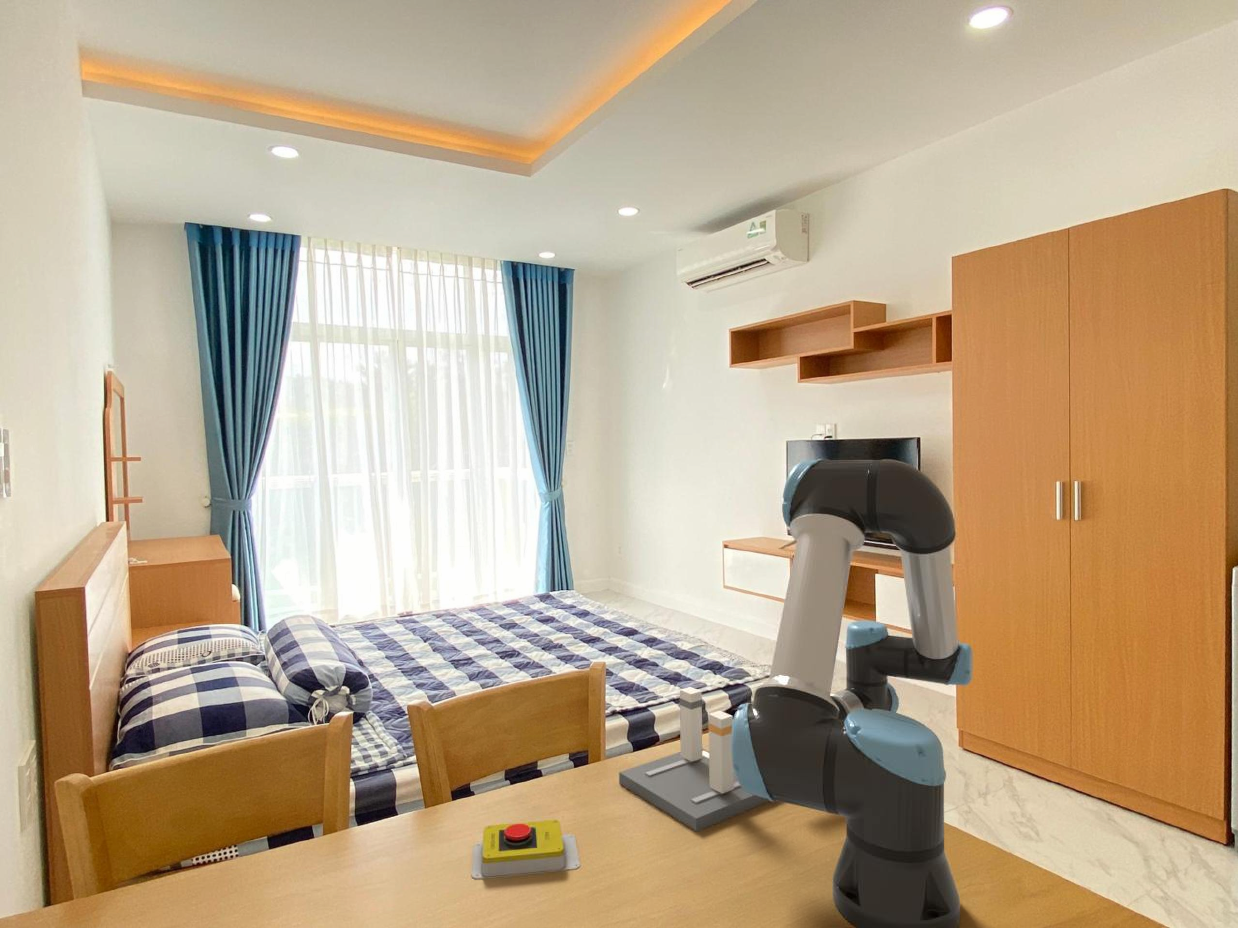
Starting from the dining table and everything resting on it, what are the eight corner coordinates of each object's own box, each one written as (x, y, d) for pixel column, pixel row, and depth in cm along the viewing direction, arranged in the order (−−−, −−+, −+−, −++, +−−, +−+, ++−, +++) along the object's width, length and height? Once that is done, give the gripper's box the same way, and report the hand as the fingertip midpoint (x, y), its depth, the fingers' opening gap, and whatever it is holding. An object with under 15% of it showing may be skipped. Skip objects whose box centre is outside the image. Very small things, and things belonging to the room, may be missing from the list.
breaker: (691, 752, 137) (690, 686, 136) (702, 757, 134) (701, 691, 134) (680, 755, 135) (679, 689, 135) (691, 761, 133) (690, 694, 132)
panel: (697, 756, 141) (697, 744, 141) (778, 796, 125) (778, 783, 125) (619, 783, 130) (619, 770, 130) (696, 831, 114) (696, 816, 114)
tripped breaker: (720, 782, 125) (719, 710, 124) (734, 789, 122) (733, 715, 122) (709, 786, 123) (708, 713, 123) (722, 793, 121) (721, 719, 120)
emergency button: (473, 817, 112) (574, 808, 114) (473, 846, 112) (574, 837, 114) (470, 851, 102) (580, 841, 105) (470, 883, 103) (580, 872, 105)
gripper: (892, 758, 129) (809, 793, 117) (782, 716, 149) (702, 742, 137) (892, 715, 129) (809, 746, 117) (782, 678, 149) (701, 701, 137)
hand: (751, 744), depth 127 cm, fingers open, 13 cm apart
